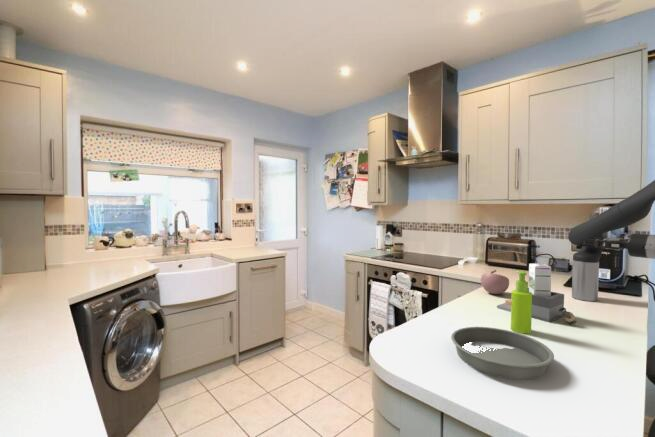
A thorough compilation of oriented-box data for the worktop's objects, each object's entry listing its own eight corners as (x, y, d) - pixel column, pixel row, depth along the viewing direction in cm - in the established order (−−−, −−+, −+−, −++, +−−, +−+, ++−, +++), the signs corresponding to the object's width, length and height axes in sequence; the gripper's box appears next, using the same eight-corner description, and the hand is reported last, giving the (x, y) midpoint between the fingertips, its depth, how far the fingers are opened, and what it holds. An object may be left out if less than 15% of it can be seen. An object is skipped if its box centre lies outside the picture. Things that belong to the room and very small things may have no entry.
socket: (512, 303, 135) (512, 283, 135) (563, 316, 119) (564, 294, 119) (496, 307, 129) (497, 287, 129) (548, 322, 113) (549, 299, 113)
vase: (562, 326, 109) (561, 309, 110) (555, 322, 115) (555, 305, 115) (580, 327, 108) (580, 310, 108) (573, 323, 113) (572, 306, 113)
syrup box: (551, 304, 118) (552, 266, 117) (533, 303, 119) (534, 265, 118) (544, 300, 123) (545, 263, 123) (527, 299, 124) (528, 263, 124)
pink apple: (509, 292, 152) (510, 269, 151) (508, 298, 142) (508, 273, 141) (482, 289, 158) (482, 266, 158) (479, 294, 148) (479, 270, 148)
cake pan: (577, 375, 78) (578, 357, 78) (498, 391, 71) (499, 372, 71) (498, 336, 102) (498, 322, 101) (433, 345, 95) (433, 330, 95)
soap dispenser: (527, 327, 108) (528, 270, 108) (533, 334, 102) (535, 274, 101) (508, 325, 110) (509, 268, 110) (512, 332, 104) (514, 272, 103)
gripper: (658, 233, 102) (595, 229, 115) (644, 235, 94) (579, 231, 108) (656, 256, 102) (594, 249, 116) (643, 260, 94) (578, 253, 108)
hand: (587, 241), depth 112 cm, fingers open, 8 cm apart
